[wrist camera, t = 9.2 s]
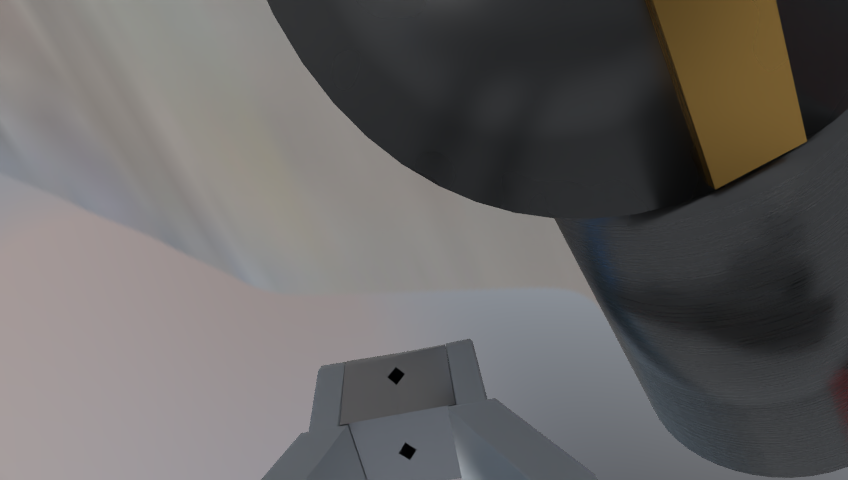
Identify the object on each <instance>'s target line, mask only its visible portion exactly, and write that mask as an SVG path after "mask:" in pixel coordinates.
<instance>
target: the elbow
mask: <svg viewBox="0 0 848 480" xmlns="http://www.w3.org/2000/svg"><path fill="white" fill-rule="evenodd" d="M267 1H268V3H269V6H270V8H271V10H272V12H273V14H274V16H275V18H276V19H277V21H278V23H279V24H280V26H281V28H282V29H283V31H284V33H285V34H286V36H287V38H288V39H289V41H290V43H291V44H292V46H293V48H294V49H295V51H296V53H297V54H298V56H299V58H300V59H301V61H302V63H303V64H304V65H305V67H306V68H307V69H308V70H309V72H310V73H311V74H312V76H313V77H314V78H315V79H316V81H317V82H318V83H319V85H320V86H321V87H322V89H323V90H324V91H325V92H326V94H327V95H328V96H329V98H330V99H331V100H332V101H333V103H334V104H335V105H336V106H337V107H338V108H339V109H340V110H341V111H342V112H343V113H344V114H345V115H346V116H347V117H348V118H349V119H350V120H351V121H352V122H353V123H354V124H355V125H356V126H357V127H358V128H359V129H360V130H361V131H362V132H363V133H364V134H365V135H366V136H367V137H368V138H369V139H371V140H372V141H373V142H375V143H376V144H377V145H378V146H380V147H381V148H382V149H383V150H385V151H386V152H387V153H389V154H390V155H391V156H392V157H394V158H395V159H396V160H398V161H399V162H400V163H401V164H403V165H404V166H406V167H408V168H410V169H411V170H413V171H415V172H416V173H418V174H420V175H421V176H423V177H425V178H426V179H428V180H430V181H432V182H433V183H435V184H437V185H438V186H440V187H443V188H445V189H447V190H450V191H452V192H455V193H457V194H459V195H462V196H464V197H466V198H469V199H471V200H473V201H476V202H479V203H482V204H486V205H490V206H493V207H497V208H500V209H504V210H508V211H511V212H515V213H522V214H529V215H536V216H543V217H550V218H554V219H555V221H556V223H557V224H558V226H559V228H560V230H561V232H562V234H563V236H564V238H565V240H566V242H567V244H568V246H569V247H570V249H571V251H572V253H573V255H574V257H575V259H576V261H577V263H578V265H579V267H580V269H581V270H582V272H583V274H584V276H585V278H586V280H587V282H588V284H589V286H590V288H591V290H592V292H593V294H594V295H595V297H596V299H597V301H598V303H599V305H600V307H601V309H602V311H603V313H604V315H605V317H606V318H607V320H608V322H609V324H610V326H611V328H612V330H613V332H614V333H615V336H616V338H617V340H618V341H619V343H620V345H621V347H622V349H623V351H624V353H625V355H626V357H627V359H628V361H629V362H630V364H631V366H632V368H633V370H634V372H635V374H636V376H637V378H638V380H639V381H640V384H641V385H642V387H643V389H644V391H645V393H646V395H647V397H648V399H649V401H650V403H651V405H652V407H653V409H654V410H655V412H656V414H657V416H658V418H659V420H660V421H661V422H662V424H663V425H664V426H665V428H666V429H667V430H668V431H669V432H670V433H671V434H672V435H673V436H674V437H675V438H676V439H677V440H678V441H679V442H681V443H682V444H683V445H684V446H685V447H687V448H688V449H689V450H691V451H693V452H694V453H696V454H697V455H699V456H701V457H702V458H705V459H707V460H709V461H711V462H713V463H715V464H717V465H720V466H723V467H726V468H729V469H732V470H735V471H739V472H743V473H748V474H752V475H760V476H767V477H790V478H792V477H805V476H814V475H818V474H824V473H829V472H833V471H836V470H839V469H842V468H845V467H848V0H267Z"/></svg>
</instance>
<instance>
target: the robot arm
mask: <svg viewBox="0 0 848 480" xmlns="http://www.w3.org/2000/svg"><path fill="white" fill-rule="evenodd" d="M446 350H447V351H446ZM448 361H449V362H448ZM449 366H450V367H449ZM451 377H452V378H451ZM457 478H462V480H597V478H596V475H595V474H594V473H593V472H591V471H590V470H589V469H587V468H586V467H585V466H583V465H582V464H581V463H579V462H578V461H576V460H575V459H574V458H573V457H571V456H570V455H569V454H567V453H566V452H565V451H564V450H562V449H561V448H560V447H558V446H557V445H556V444H554V443H553V442H552V441H551V440H549V439H548V438H546V437H545V436H544V435H543V434H541V433H540V432H539V431H537V430H536V429H535V428H533V427H532V426H531V425H530V424H528V423H527V422H525V421H524V420H523V419H522V418H520V417H519V416H518V415H516V414H515V413H514V412H512V411H511V410H510V409H508V408H507V407H506V406H505V405H503V404H502V403H501V402H499V401H498V400H497V399H495V398H494V399H488V400H487V396H486V392H485V389H484V385H483V381H482V377H481V373H480V369H479V365H478V361H477V357H476V353H475V349H474V346H473V342H472V340H471V339H467V340H462V341H456V342H451V343H447V344H446V346H445V345H439V346H434V347H429V348H423V349H419V350H413V351H407V352H402V353H397V354H390V355H384V356H377V357H372V358H365V359H359V360H352V361H347V362H343V363H336V364H330V365H324V366H321V368H320V369H319V371H318V375H317V382H316V389H315V395H314V401H313V408H312V415H311V421H310V427H309V432H306V433H301V434H300V435H299V436H298V438H297V439H296V440H295V441H294V442H293V443H292V444H291V446H290V447H289V448H288V449H287V450H286V451H285V453H284V454H283V455H282V456H281V457H280V458H279V460H278V461H277V462H276V463H275V464H274V465H273V467H272V468H271V469H270V470H269V471H268V472H267V474H266V475H265V476H264V477H263V478H262V480H450V479H457Z"/></svg>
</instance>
